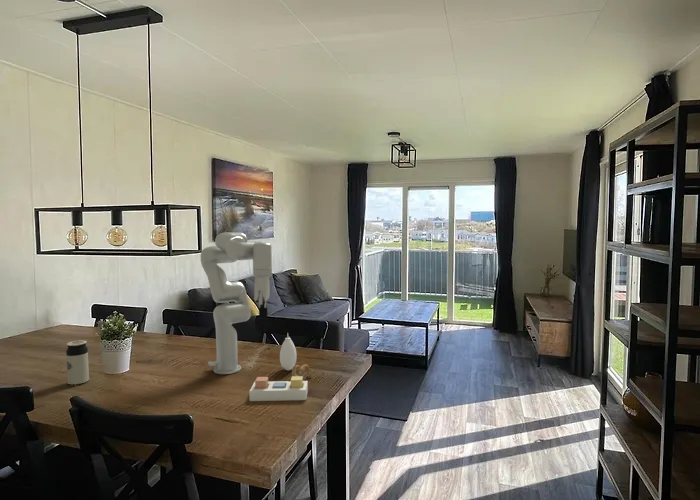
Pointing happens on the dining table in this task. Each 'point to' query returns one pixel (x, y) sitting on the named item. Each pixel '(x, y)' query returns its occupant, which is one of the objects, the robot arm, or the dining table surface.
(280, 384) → the blue button
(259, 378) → the terracotta button
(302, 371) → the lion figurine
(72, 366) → the travel mug
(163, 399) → the dining table surface
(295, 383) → the ochre button
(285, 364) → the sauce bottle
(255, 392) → the button board
